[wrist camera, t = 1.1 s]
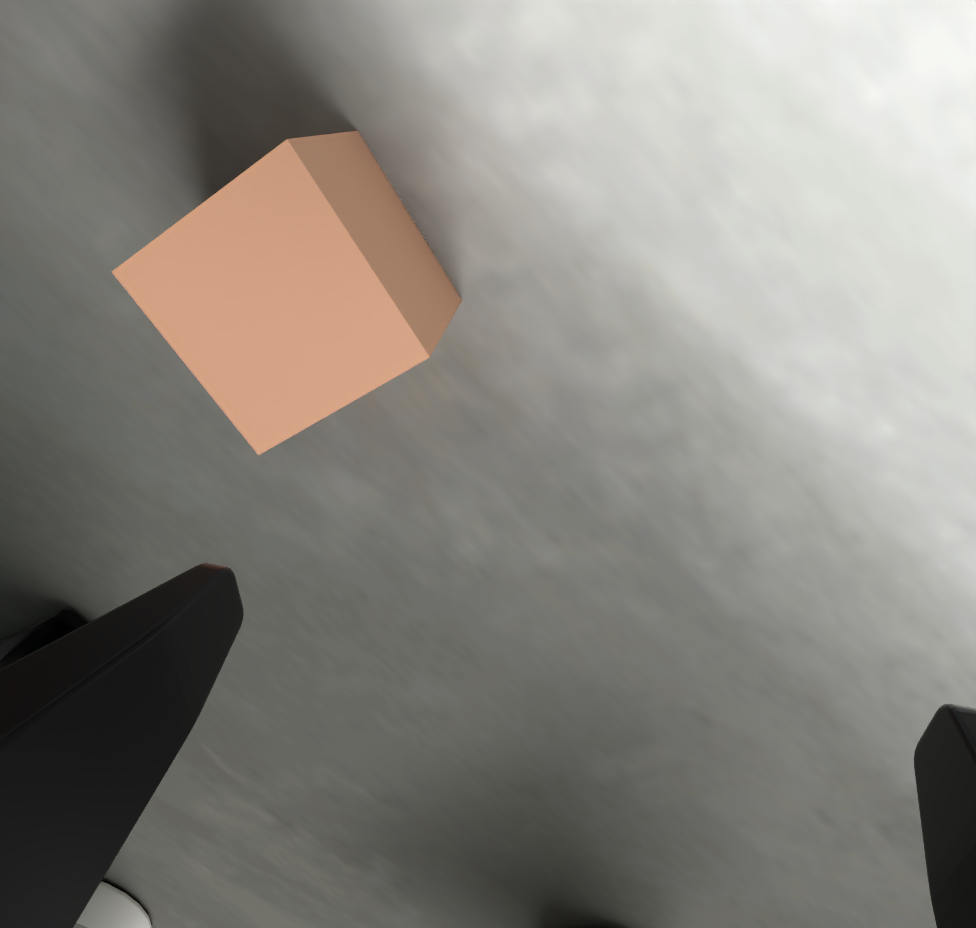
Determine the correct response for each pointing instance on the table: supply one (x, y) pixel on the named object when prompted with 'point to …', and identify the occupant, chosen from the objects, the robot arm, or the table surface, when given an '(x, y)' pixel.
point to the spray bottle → (112, 910)
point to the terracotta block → (295, 287)
